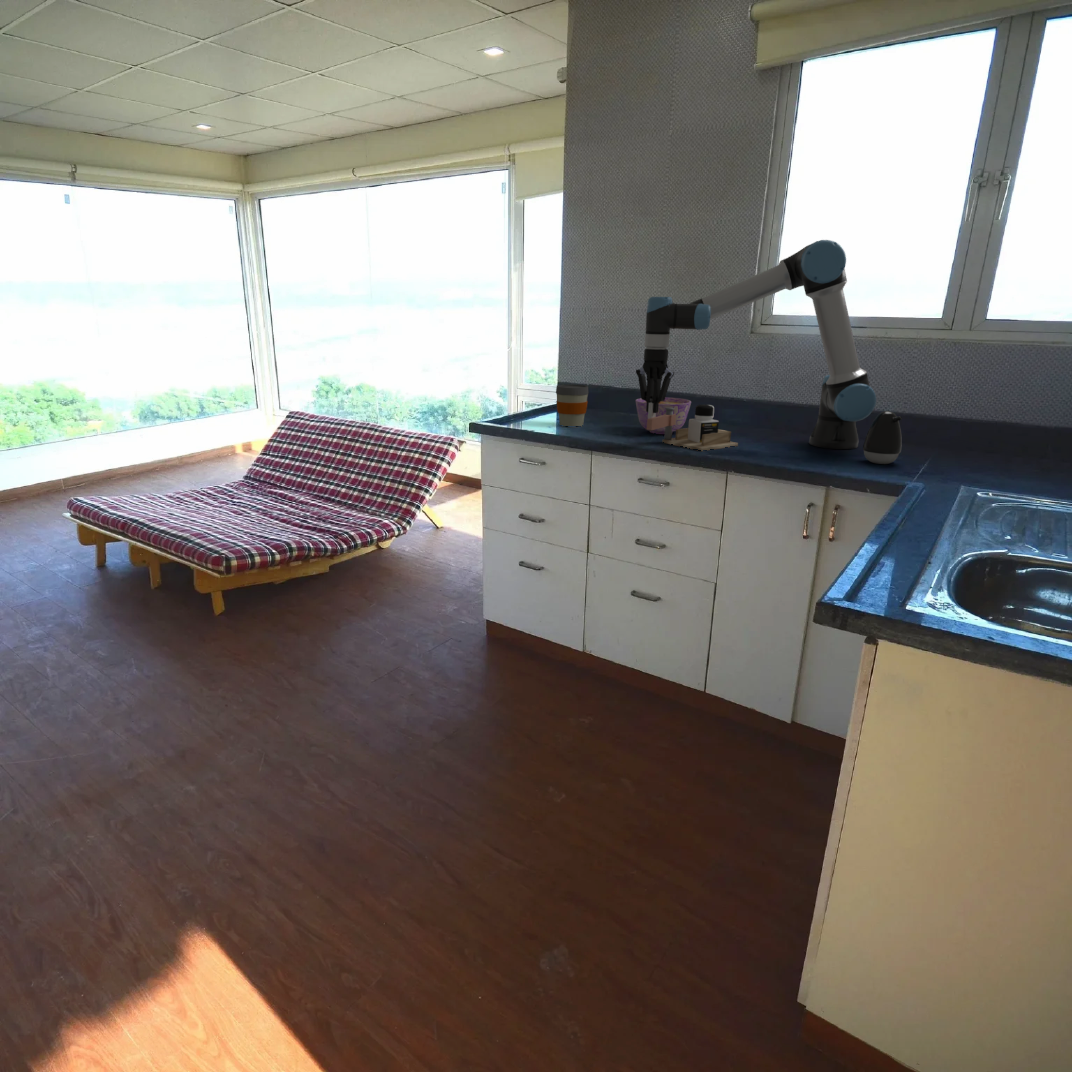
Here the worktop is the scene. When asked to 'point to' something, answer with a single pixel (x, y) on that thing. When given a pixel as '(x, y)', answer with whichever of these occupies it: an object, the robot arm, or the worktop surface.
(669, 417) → the hammer
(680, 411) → the bowl of food
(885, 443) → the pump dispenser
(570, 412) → the reusable coffee cup
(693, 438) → the medicine bottle
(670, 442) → the cradle
